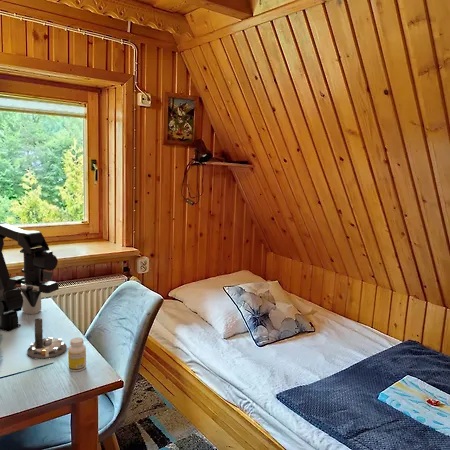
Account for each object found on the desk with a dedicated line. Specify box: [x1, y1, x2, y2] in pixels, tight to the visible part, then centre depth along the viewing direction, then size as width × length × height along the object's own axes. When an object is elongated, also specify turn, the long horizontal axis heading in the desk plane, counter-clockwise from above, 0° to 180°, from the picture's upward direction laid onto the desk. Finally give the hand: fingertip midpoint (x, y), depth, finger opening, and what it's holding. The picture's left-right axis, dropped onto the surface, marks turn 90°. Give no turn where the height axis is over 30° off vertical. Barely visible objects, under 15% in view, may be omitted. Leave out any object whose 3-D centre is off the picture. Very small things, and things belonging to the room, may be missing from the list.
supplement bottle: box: [67, 337, 87, 373], centre depth 139 cm, size 5×5×10 cm
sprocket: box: [29, 318, 65, 355], centre depth 149 cm, size 11×11×12 cm
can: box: [21, 292, 42, 315], centre depth 184 cm, size 8×8×12 cm
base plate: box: [26, 341, 68, 360], centre depth 150 cm, size 13×13×4 cm
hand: (33, 306), depth 159 cm, fingers closed
